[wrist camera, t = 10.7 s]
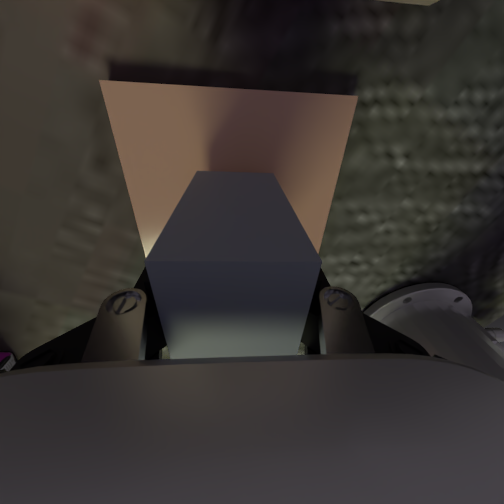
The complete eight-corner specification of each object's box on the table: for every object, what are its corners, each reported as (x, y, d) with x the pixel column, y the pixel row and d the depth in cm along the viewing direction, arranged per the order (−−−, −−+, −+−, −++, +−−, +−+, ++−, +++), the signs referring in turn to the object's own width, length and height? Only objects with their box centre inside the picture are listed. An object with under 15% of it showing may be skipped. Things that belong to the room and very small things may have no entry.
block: (273, 173, 13) (321, 261, 6) (265, 255, 17) (289, 380, 9) (196, 170, 13) (144, 261, 5) (204, 255, 16) (177, 384, 9)
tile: (350, 96, 13) (358, 96, 13) (307, 275, 21) (310, 282, 20) (108, 81, 12) (99, 80, 12) (156, 276, 20) (152, 284, 19)
